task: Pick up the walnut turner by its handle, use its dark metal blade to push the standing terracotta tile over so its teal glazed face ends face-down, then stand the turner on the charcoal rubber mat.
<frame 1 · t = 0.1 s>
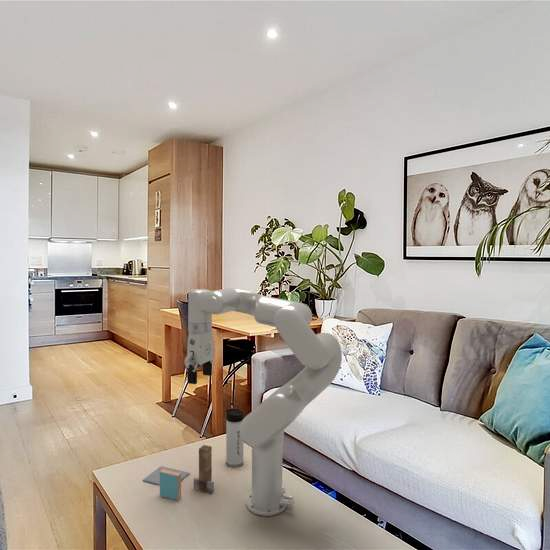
hand: (200, 379, 139), 37 cm above the table, tool pointing down, fingers open, 9 cm apart
turner: (205, 489, 140), on the table
travel mug: (234, 463, 158), on the table
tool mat: (166, 477, 147), on the table
tile: (170, 496, 136), on the table
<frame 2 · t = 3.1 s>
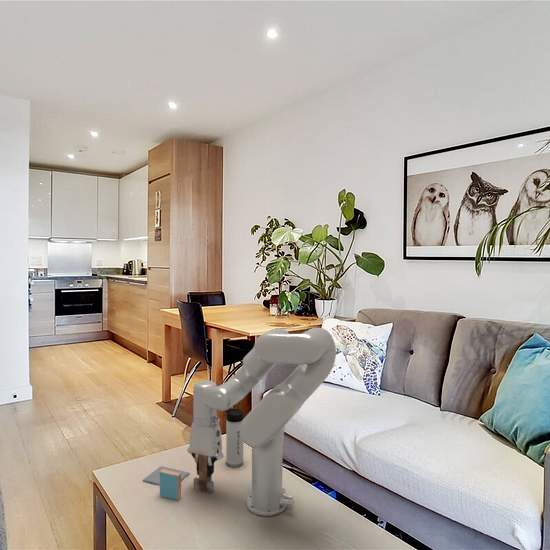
hand: (205, 473, 140), 5 cm above the table, tool pointing down, fingers closed on turner, 3 cm apart
turner: (205, 489, 140), on the table, touching gripper
everything else where it was.
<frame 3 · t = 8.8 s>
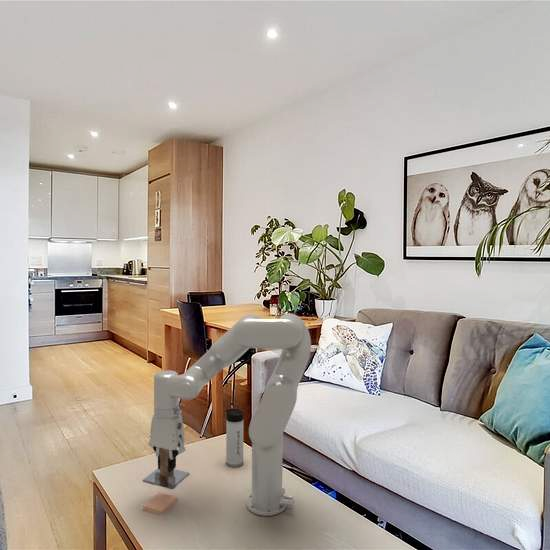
hand: (166, 468, 134), 10 cm above the table, tool pointing down, fingers closed on turner, 3 cm apart
turner: (167, 484, 134), point 5 cm above the table, touching gripper
tile: (168, 496, 135), on the table, tilted 90°
everything else where it was.
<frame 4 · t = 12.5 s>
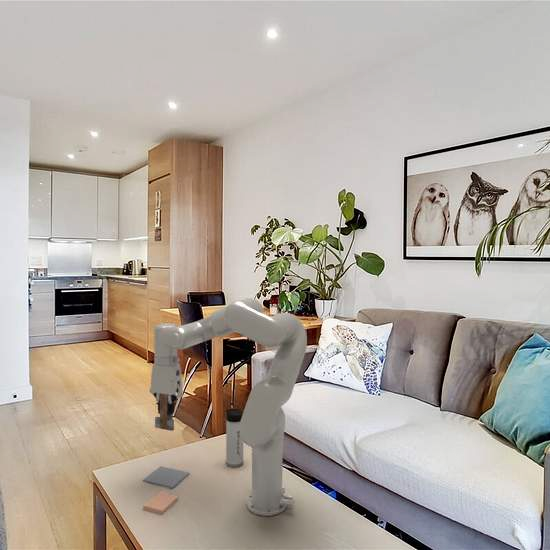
hand: (166, 412, 146), 23 cm above the table, tool pointing down, fingers closed on turner, 3 cm apart
turner: (166, 427, 146), point 18 cm above the table, touching gripper
everything else where it was.
when the fingers open (7 cm above the table, at t = 15.7 s): turner stays where it is, resting on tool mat.
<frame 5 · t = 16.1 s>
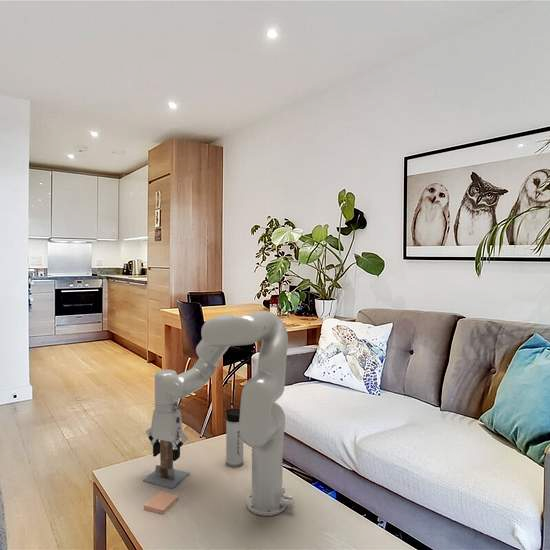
hand: (166, 456, 147), 7 cm above the table, tool pointing down, fingers open, 7 cm apart
turner: (166, 476, 147), point 1 cm above the table, touching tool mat
everything else where it was.
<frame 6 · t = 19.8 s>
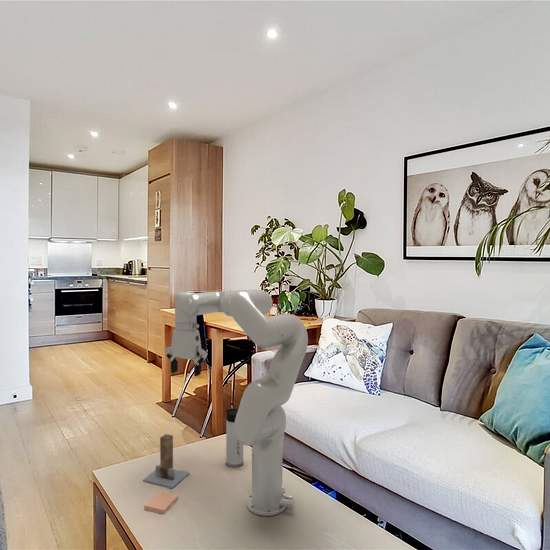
hand: (185, 373, 153), 34 cm above the table, tool pointing down, fingers open, 9 cm apart
nothing on the table moved.
at the end: tile tilted 90°; turner inside the target area on the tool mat (0.1 cm from its centre), point 0.6 cm above the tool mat's base; the gripper is holding nothing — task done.
